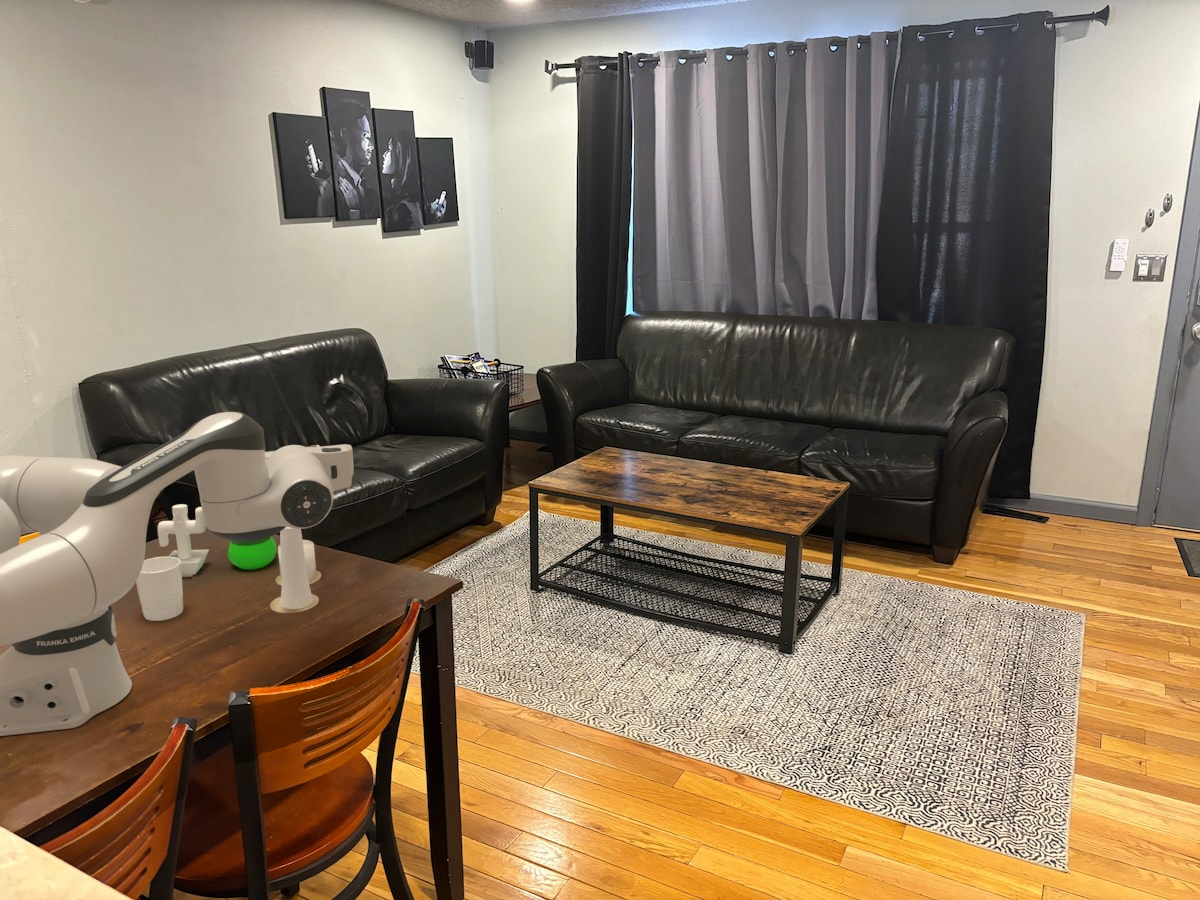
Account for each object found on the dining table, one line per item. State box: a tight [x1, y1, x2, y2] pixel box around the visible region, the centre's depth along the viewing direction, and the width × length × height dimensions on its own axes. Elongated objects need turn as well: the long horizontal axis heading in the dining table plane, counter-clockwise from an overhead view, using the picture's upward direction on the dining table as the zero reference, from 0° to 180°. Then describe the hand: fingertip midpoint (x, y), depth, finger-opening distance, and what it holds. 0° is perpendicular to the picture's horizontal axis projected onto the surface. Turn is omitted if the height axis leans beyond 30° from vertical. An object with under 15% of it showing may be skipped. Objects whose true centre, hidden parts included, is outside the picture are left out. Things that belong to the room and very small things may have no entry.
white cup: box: [135, 556, 184, 622], centre depth 161 cm, size 8×8×10 cm
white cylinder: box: [277, 539, 317, 582], centre depth 177 cm, size 7×7×7 cm
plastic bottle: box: [227, 536, 277, 571], centre depth 181 cm, size 10×10×25 cm
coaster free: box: [269, 593, 320, 614], centre depth 167 cm, size 9×9×1 cm
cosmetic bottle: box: [279, 527, 313, 610], centre depth 163 cm, size 6×6×22 cm
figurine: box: [157, 503, 210, 578], centre depth 179 cm, size 7×9×15 cm
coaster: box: [275, 569, 322, 587], centre depth 178 cm, size 9×9×1 cm
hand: (286, 452), depth 147 cm, fingers open, 8 cm apart
